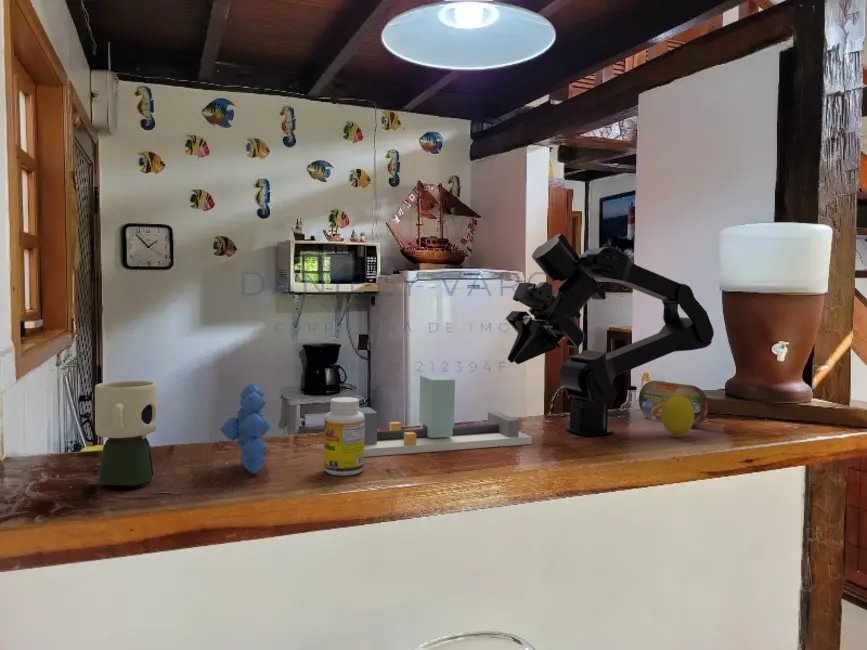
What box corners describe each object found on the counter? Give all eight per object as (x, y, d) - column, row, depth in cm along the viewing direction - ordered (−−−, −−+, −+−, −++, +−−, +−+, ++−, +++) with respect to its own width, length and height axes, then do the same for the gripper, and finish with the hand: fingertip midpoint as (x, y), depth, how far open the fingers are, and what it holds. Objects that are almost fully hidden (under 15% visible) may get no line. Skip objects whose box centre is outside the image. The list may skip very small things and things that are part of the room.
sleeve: (440, 429, 107) (441, 374, 107) (453, 437, 102) (455, 379, 101) (419, 430, 106) (420, 375, 106) (431, 438, 100) (432, 380, 100)
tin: (637, 417, 131) (638, 377, 130) (646, 416, 132) (648, 377, 132) (700, 431, 118) (702, 387, 117) (710, 429, 119) (712, 386, 119)
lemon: (658, 438, 111) (660, 394, 111) (663, 432, 116) (664, 390, 116) (691, 442, 108) (693, 397, 108) (694, 436, 113) (696, 392, 113)
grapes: (220, 460, 91) (220, 379, 91) (267, 457, 93) (267, 378, 93) (220, 483, 80) (220, 392, 80) (273, 479, 82) (274, 390, 82)
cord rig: (504, 431, 114) (505, 398, 114) (531, 444, 105) (532, 407, 104) (344, 442, 104) (345, 405, 103) (358, 457, 94) (359, 417, 94)
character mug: (149, 496, 75) (148, 389, 74) (84, 500, 73) (83, 391, 72) (163, 470, 85) (163, 377, 85) (106, 473, 83) (106, 378, 83)
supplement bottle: (320, 467, 88) (320, 397, 88) (357, 464, 90) (358, 395, 90) (329, 478, 83) (330, 403, 83) (368, 474, 85) (369, 401, 85)
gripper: (516, 268, 118) (462, 326, 115) (570, 265, 101) (508, 333, 97) (551, 310, 121) (499, 367, 118) (609, 313, 104) (550, 380, 100)
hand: (512, 361), depth 108 cm, fingers closed
